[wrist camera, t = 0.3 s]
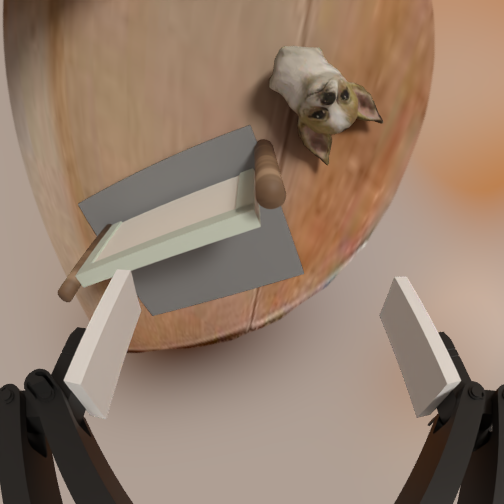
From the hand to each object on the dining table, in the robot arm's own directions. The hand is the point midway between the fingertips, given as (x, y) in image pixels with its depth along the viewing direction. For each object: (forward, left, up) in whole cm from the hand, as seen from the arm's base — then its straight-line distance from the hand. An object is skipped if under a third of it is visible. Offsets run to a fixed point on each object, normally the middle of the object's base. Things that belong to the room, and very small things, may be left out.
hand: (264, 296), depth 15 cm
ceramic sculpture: (-5, +9, -28) cm, 30 cm away
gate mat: (+8, -14, -27) cm, 31 cm away
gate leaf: (+2, -12, -26) cm, 28 cm away
